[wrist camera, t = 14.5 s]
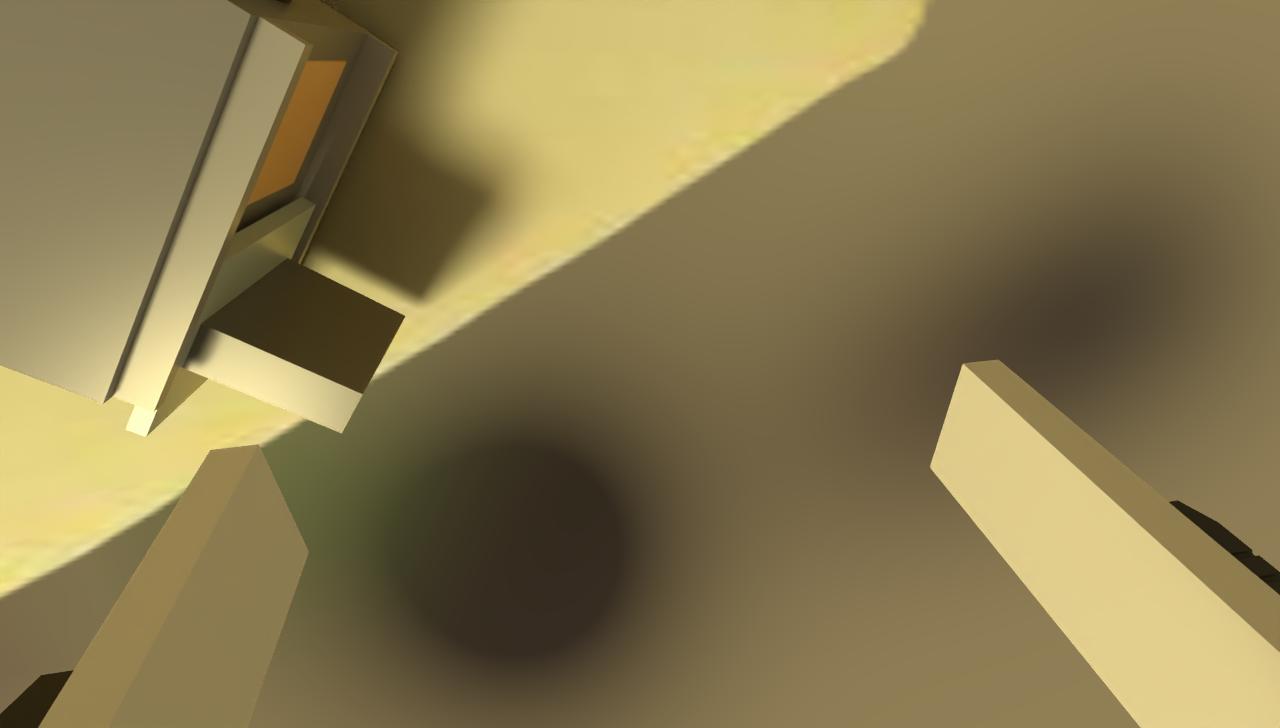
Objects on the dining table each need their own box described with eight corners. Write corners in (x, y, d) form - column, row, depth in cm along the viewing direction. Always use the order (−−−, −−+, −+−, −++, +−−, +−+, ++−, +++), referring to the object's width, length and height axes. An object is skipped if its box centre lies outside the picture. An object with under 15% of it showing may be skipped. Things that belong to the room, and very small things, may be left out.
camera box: (166, -153, 29) (-188, -355, 15) (417, 15, 34) (325, -19, 19) (62, 180, 35) (-272, 262, 21) (290, 289, 39) (145, 419, 25)
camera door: (301, 196, 35) (195, 255, 24) (432, 266, 38) (388, 346, 27) (244, 325, 38) (125, 429, 27) (370, 381, 40) (307, 496, 30)
